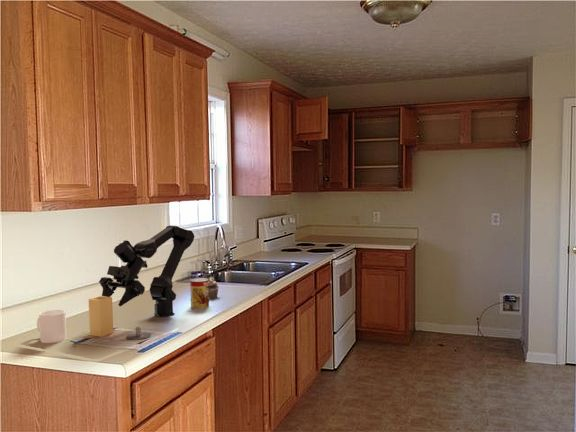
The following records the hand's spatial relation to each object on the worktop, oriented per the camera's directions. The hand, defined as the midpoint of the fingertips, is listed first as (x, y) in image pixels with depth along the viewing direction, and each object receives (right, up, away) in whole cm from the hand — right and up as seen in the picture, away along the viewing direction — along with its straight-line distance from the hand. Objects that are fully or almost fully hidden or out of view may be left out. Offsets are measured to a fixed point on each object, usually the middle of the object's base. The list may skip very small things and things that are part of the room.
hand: (110, 304), depth 186 cm
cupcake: (+27, -7, +58) cm, 64 cm away
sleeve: (-2, -10, -3) cm, 11 cm away
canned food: (+26, -8, +39) cm, 48 cm away
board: (+5, -11, -5) cm, 13 cm away
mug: (-18, -12, -8) cm, 23 cm away
